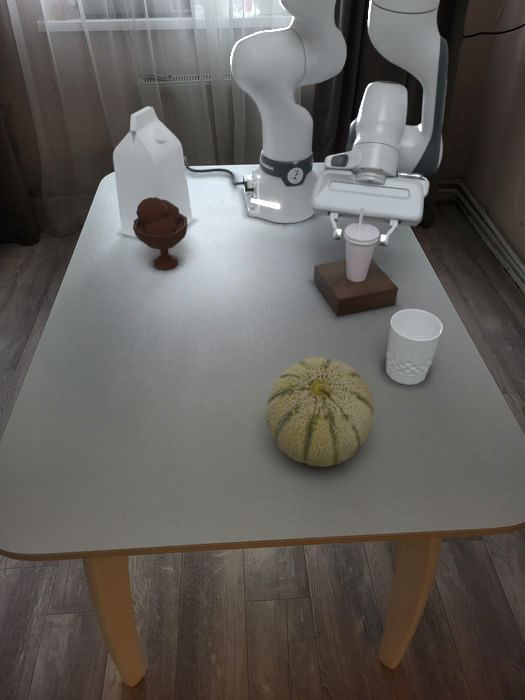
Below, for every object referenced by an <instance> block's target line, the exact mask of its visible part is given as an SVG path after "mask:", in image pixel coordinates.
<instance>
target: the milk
mask: <svg viewBox="0 0 525 700" xmlns="http://www.w3.org/2000/svg"><path fill="white" fill-rule="evenodd" d="M129 122H130V123H129V131H128V132H127V134H125V136H124V137H123V138H122V139H121V141H120V142H119V143H118V144H117V145H116V147H115V148H114V150H113V153H112V161H113V168H114V177H115V185H116V186H115V187H116V195H117V203H118V210H119V219H120V227H121V234H122V235H125V236H129V237H133V238H137V236H136V235H135V232H134V230H133V225H134V220H136V219H137V218H138V216H137V214H136V211H137V207H138V205H139V204H140V203H141V202H142V200H144V199H147V198H149V197H151V198H154V197H156V198H159V199H162V200H167V201H169V202H171V203H172V204H174V205H175V206H176V207H178V208H179V213H180V214H182V215H184V216H185V217H187V226H188V225H190V224H191V223H192V222H193V221H194V220H193V214H192V206H191V200H190V193H189V185H188V180H187V171H186V166H185V163H184V157H185V156H184V150H183V146H182V143H181V141H180V140H179V138H178V137H177V136H176V135H175V134H174V133H173V132H172V131H171V130H170V129H169V127H167V126H166V125H165V124H164V123H163V122H162V121H161V120H160V119H159V118H158V116H157V114H156V111H155V108H154V106H148V105H147V106H145V107H143V108H141V109H140V110H137V111H135V112H133V113H131V114H130V121H129Z"/></svg>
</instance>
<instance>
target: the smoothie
mask: <svg viewBox="0 0 525 700" xmlns="http://www.w3.org/2000/svg"><path fill="white" fill-rule="evenodd" d="M363 210H364V208H360V216H359V219H358V222H355V223H350V224H348V225H347V226H346V227H344V232H343V237H344V240H345V260H346V276H347V278H348V279H349V280H351V281H354V282H361V281H363V280H365V279H366V275H367V272H368V269H369V265H370V262H371V259H373V255H374V251H375V248H376V245H377V242H379V241H380V235H381V234H380V233H381V231H380V230H379V228H377V226H374V225H372V224H371V223H370V224H369V223H366V222H365V223H364V222H363V220H362V218H363Z"/></svg>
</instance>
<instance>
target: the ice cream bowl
mask: <svg viewBox="0 0 525 700" xmlns="http://www.w3.org/2000/svg"><path fill="white" fill-rule="evenodd" d="M136 214H137V216H138V218H137V219H136V220H134V225H133V230H134V232H135V235H136V236H137V237H136V238H137V239H138V240H139V242H141V243H143V244H144V245H146V246H147V247H149V248H150V249H153V250H159V252H160V253H159V254H160V255H159V256H157V257H156V258H154V259H153V263H152V267H153V268H155V269H156V270H158V271H171V270H174V269H175V268H177V267H178V266H179V265H180V264H179V262H180V261H179V258H178V257H176V256H175V255H174V254H173V255H172V254H170V252H169V249H172V248H174V247H175V246H176V245H178V244H179V243H180V242H182V240H183V239H185V237H186V235H187V233H188V232H187V231H188V225H187V217H185V216H184V215H182V214H180V213H179V208H178V207H176V206H175V205H174V204H172V203H171V202H169V201H167V200H162V199H159V198H156V197H154V198H151V197H149V198H147V199H144V200H142V202H141V203H140V204H139V205H138V207H137V211H136Z"/></svg>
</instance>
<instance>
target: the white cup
mask: <svg viewBox="0 0 525 700" xmlns="http://www.w3.org/2000/svg"><path fill="white" fill-rule="evenodd" d="M443 330H444V326H443V323H442V321H441V319H439V318H438V317H437V316H436V315H435V314H433V313H431V312H428V311H427V310H424V309H418V308H405V309H401V310H399V311H397V312H395V313H394V314H393V315H392V316H391V318H390V324H389V331H388V339H387V345H386V360H385V372H386V375H387V376H388V377H389V378H390V379H391V380H393V381H394V382H396V383H398V384H400V385H407V386H413V385H419V384H420V383H422V382H423V381H425V379H426V377H427V375H428V373H429V369H430V367H431V365H432V363H433V360H434V357H435V355H436V352H437V348H438V346H439V343H440V340H441V336H442V333H443Z"/></svg>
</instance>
